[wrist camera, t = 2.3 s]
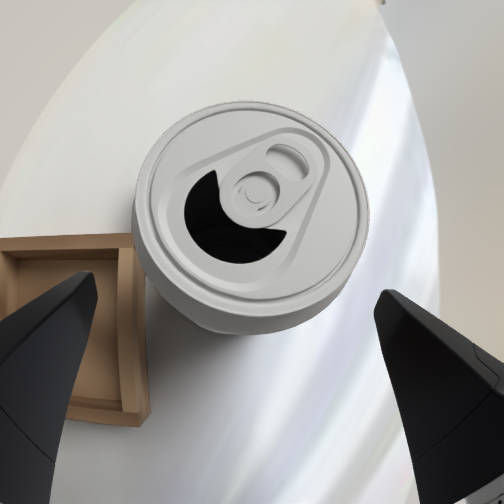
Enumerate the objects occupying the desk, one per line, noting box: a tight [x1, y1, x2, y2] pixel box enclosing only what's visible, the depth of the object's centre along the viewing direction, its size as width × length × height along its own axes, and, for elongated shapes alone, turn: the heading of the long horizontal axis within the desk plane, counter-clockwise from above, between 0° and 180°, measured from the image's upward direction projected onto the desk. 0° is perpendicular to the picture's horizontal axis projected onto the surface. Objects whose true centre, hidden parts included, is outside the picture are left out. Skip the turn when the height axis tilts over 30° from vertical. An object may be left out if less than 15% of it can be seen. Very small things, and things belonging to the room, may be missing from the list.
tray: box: [0, 233, 151, 427], centre depth 15 cm, size 10×10×3 cm
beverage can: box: [132, 101, 370, 335], centre depth 12 cm, size 6×6×12 cm
